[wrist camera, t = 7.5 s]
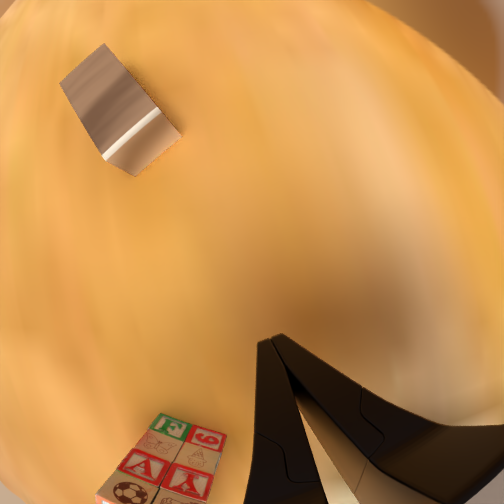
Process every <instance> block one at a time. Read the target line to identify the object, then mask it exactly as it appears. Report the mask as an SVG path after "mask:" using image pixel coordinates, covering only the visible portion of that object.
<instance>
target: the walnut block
mask: <svg viewBox="0 0 504 504" xmlns="http://www.w3.org/2000/svg"><path fill="white" fill-rule="evenodd" d="M59 84H60V86H61V88H62V89H63V91H64V93H65V95H66V96H67V98H68V100H69V102H70V103H71V105H72V107H73V109H74V110H75V112H76V114H77V115H78V117H79V119H80V120H81V122H82V124H83V125H84V127H85V129H86V130H87V132H88V134H89V135H90V137H91V139H92V140H93V142H94V144H95V145H96V147H97V148H98V150H99V152H100V153H101V155H102V156H103V158H104V160H105V161H106V162H108V163H110V164H112V165H114V166H116V167H118V168H120V169H122V170H124V171H125V172H127V173H129V174H131V175H133V176H136V175H138V174H139V173H140V172H141V171H142V170H143V169H144V168H146V167H147V166H148V165H149V164H150V163H151V162H152V161H154V160H155V159H156V158H157V157H158V156H159V155H161V154H162V153H163V152H164V151H165V150H167V149H168V148H169V147H170V146H171V145H173V144H174V143H175V142H176V141H178V140H179V139H180V138H181V137H182V136H181V135H180V133H179V132H178V131H177V130H176V128H175V127H174V126H173V125H172V124H171V122H170V121H169V120H168V119H167V117H166V116H165V115H164V114H163V113H162V111H161V110H160V109H159V108H158V107H157V105H156V104H155V103H154V102H153V100H152V99H151V98H150V97H149V96H148V94H147V93H146V92H145V91H144V90H143V88H142V87H141V86H140V85H139V84H138V82H137V81H136V80H135V79H134V78H133V76H132V75H131V74H130V73H129V72H128V70H127V69H126V68H125V67H124V66H123V64H122V63H121V62H120V61H119V60H118V59H117V57H116V56H115V55H114V54H113V53H112V52H111V50H110V49H109V48H108V47H107V46H106V45H105V43H104V44H102V45H101V46H100V47H99V48H98V49H96V50H95V51H94V52H93V53H92V54H91V55H89V56H88V57H87V58H86V59H85V60H84V61H83V62H81V63H80V64H79V65H78V66H77V67H76V68H75V69H74V70H73V71H72V72H71V73H69V74H68V75H67V76H66V77H65V78H64V79H63V80H62V81H61V82H60V83H59Z"/></svg>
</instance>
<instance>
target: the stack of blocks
mask: <svg viewBox="0 0 504 504" xmlns="http://www.w3.org/2000/svg"><path fill="white" fill-rule="evenodd" d="M226 437H227V435H226V434H222V433H219V432H216V431H212V430H209V429H206V428H203V427H199V426H196V425H192V424H189V423H186V422H183V421H180V420H178V419H175V418H172V417H169V416H167V415H164V414H162V413H160V414H159V415H158V416H157V418H156V419H155V420H154V421H153V422H152V424H151V425H150V426H149V427H148V430H147V432H146V433H145V434H144V435H143V437H142V438H141V439H140V440H139V442H138V443H137V444H136V446H135V448H132V449H131V450H130V451H129V453H128V454H127V455H126V457H125V458H124V459H123V460H122V462H121V463H120V464H119V465H118V467H117V468H116V470H115V471H114V473H113V474H112V475H111V476H110V477H109V478H108V480H107V481H106V482H105V483H104V484H103V486H102V487H101V488H100V489H99V490H98V491H97V493H96V494H95V495H96V504H206V502H207V499H208V496H209V493H210V490H211V486H212V483H213V479H214V475H215V472H216V469H217V466H218V463H219V460H220V457H221V454H222V451H223V447H224V444H225V440H226Z"/></svg>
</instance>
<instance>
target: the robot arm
mask: <svg viewBox="0 0 504 504" xmlns="http://www.w3.org/2000/svg"><path fill="white" fill-rule="evenodd" d="M298 408H299V409H298ZM299 410H300V411H301V413H302V414H303V416H304V418H305V419H306V421H307V422H308V424H309V426H310V427H311V429H312V430H313V432H314V434H315V435H316V437H317V438H318V440H319V442H320V443H321V445H322V446H323V448H324V449H325V451H326V453H327V454H328V456H329V457H330V459H331V460H332V462H333V463H334V465H335V467H336V468H337V470H338V471H339V473H340V474H341V476H342V477H343V479H344V480H345V482H346V483H347V485H348V486H349V488H350V489H351V491H352V492H353V494H354V496H355V497H356V498H357V500H358V501H359V503H360V504H504V424H502V425H486V426H448V425H443V424H439V423H436V422H433V421H431V420H428V419H426V418H423V417H421V416H419V415H416V414H414V413H412V412H409V411H407V410H405V409H403V408H400V407H398V406H396V405H394V404H392V403H390V402H388V401H386V400H384V399H383V398H381V397H379V396H377V395H376V394H374V393H372V392H371V391H369V390H368V389H366V388H364V387H363V388H362V386H361V385H360V384H358V383H356V382H355V381H353V380H352V379H350V378H349V377H347V376H346V375H344V374H343V373H341V372H339V371H338V370H336V369H335V368H333V367H332V366H330V365H329V364H327V363H326V362H324V361H323V360H321V359H320V358H318V357H317V356H315V355H314V354H312V353H311V352H309V351H308V350H306V349H305V348H304V347H302V346H301V345H299V344H298V343H296V342H295V341H293V340H292V339H290V338H289V337H287V336H286V335H285V334H283V333H280V334H277V335H275V336H272V337H271V338H270V339H269V338H267V339H264V340H261V341H259V342H258V343H257V360H256V389H255V416H254V439H253V454H252V462H251V469H250V475H249V480H248V484H247V489H246V494H245V499H244V503H243V504H329V503H328V501H327V498H326V495H325V492H324V489H323V486H322V483H321V480H320V476H319V473H318V470H317V467H316V464H315V460H314V457H313V454H312V451H311V448H310V444H309V441H308V438H307V435H306V432H305V428H304V425H303V422H302V419H301V416H300V412H299Z"/></svg>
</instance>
